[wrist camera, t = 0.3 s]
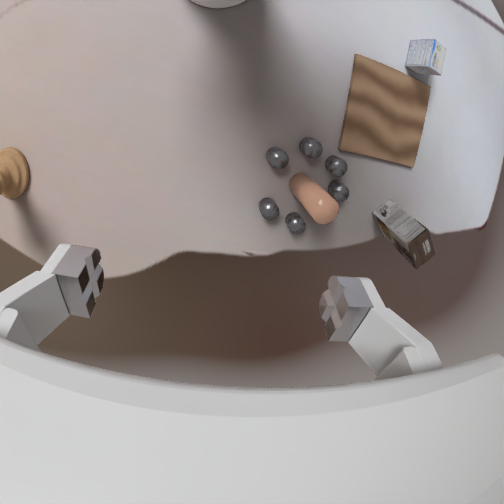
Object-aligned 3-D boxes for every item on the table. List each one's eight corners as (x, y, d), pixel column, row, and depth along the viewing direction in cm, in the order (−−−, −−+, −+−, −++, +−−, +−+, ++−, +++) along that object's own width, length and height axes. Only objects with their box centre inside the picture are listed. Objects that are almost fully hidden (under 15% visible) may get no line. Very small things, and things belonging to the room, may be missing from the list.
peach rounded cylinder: (291, 171, 56) (315, 196, 44) (313, 174, 57) (342, 199, 45) (287, 193, 58) (309, 223, 47) (308, 195, 59) (334, 225, 48)
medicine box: (417, 74, 45) (441, 76, 38) (404, 65, 44) (428, 66, 37) (422, 48, 41) (447, 48, 34) (409, 39, 40) (434, 38, 33)
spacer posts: (269, 131, 50) (273, 134, 47) (352, 145, 54) (360, 149, 51) (255, 224, 61) (258, 232, 58) (331, 228, 65) (337, 236, 62)
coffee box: (400, 222, 67) (435, 254, 54) (382, 236, 69) (416, 271, 56) (389, 198, 63) (429, 228, 49) (371, 212, 64) (408, 246, 51)
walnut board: (354, 54, 43) (357, 53, 42) (427, 86, 47) (430, 87, 46) (338, 148, 54) (340, 149, 53) (410, 166, 59) (413, 167, 58)
